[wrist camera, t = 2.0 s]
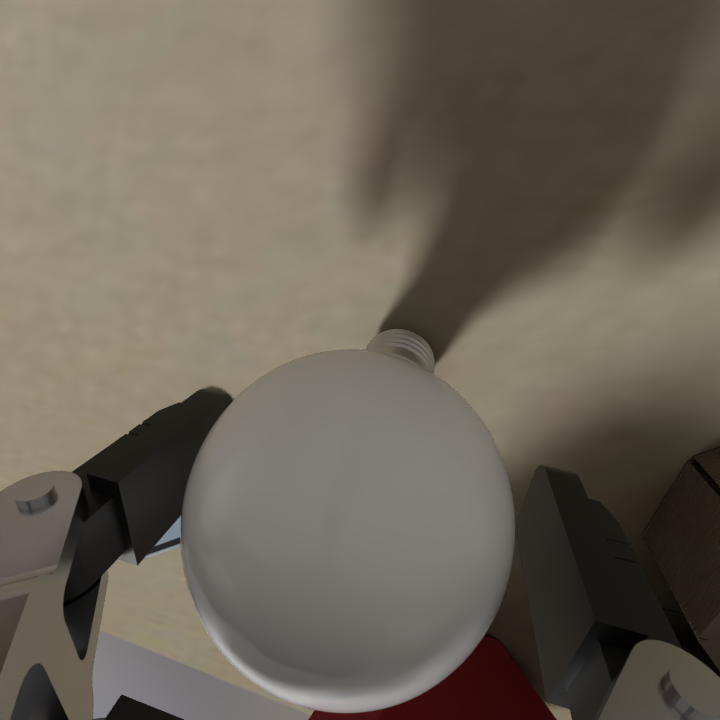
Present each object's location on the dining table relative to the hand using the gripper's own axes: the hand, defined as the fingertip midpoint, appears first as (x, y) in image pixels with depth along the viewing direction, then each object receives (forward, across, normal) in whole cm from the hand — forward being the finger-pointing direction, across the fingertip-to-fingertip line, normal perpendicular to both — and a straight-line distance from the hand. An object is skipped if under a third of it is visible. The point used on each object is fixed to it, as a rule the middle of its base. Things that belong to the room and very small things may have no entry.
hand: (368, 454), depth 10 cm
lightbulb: (+6, 0, 0) cm, 6 cm away
